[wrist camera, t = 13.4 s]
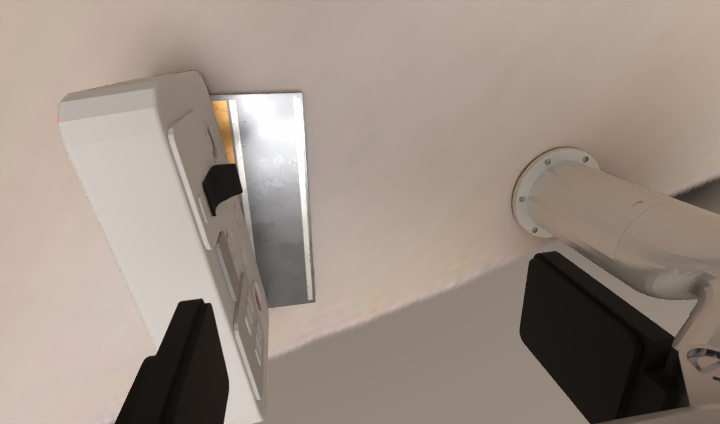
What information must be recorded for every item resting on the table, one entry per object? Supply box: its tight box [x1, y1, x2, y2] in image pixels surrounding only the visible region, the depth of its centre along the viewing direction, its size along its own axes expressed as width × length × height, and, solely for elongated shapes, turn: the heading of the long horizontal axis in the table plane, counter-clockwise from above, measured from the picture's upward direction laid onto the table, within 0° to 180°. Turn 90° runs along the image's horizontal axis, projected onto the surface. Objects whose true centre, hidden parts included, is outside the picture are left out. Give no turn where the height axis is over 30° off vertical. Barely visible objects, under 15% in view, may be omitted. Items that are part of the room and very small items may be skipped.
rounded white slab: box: [57, 70, 269, 424], centre depth 35 cm, size 29×8×18 cm, turn 8°
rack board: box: [209, 92, 315, 308], centre depth 44 cm, size 14×26×1 cm, turn 1°
